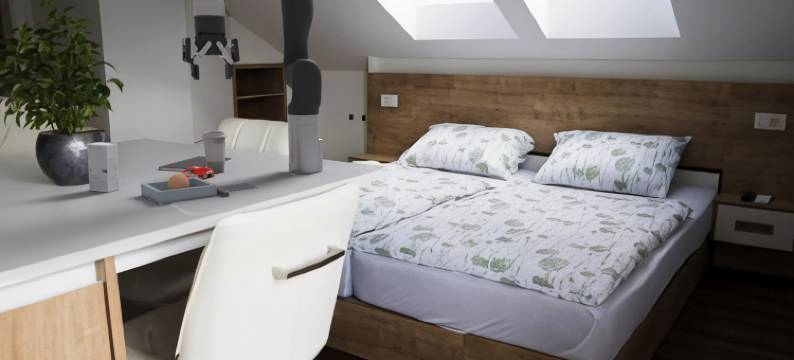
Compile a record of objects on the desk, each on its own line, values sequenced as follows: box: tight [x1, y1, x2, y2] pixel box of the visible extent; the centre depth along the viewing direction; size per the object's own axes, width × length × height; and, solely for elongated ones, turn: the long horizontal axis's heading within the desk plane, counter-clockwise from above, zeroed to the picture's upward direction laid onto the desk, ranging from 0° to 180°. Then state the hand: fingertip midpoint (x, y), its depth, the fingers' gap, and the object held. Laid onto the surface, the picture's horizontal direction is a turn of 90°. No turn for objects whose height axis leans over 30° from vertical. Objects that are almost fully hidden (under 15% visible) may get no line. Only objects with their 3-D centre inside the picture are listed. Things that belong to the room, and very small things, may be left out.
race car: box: [179, 166, 215, 180], centre depth 176 cm, size 13×5×4 cm, turn 155°
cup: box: [201, 130, 228, 175], centre depth 188 cm, size 7×7×12 cm
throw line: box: [216, 186, 230, 198], centre depth 162 cm, size 1×18×1 cm, turn 39°
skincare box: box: [86, 141, 120, 193], centre depth 162 cm, size 6×4×12 cm
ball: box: [167, 173, 189, 190], centre depth 156 cm, size 5×5×5 cm
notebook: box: [158, 155, 233, 172], centre depth 201 cm, size 13×2×21 cm
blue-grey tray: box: [140, 177, 218, 206], centre depth 156 cm, size 14×13×3 cm
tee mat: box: [216, 182, 259, 193], centre depth 166 cm, size 8×8×1 cm
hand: (212, 79), depth 164 cm, fingers open, 8 cm apart
